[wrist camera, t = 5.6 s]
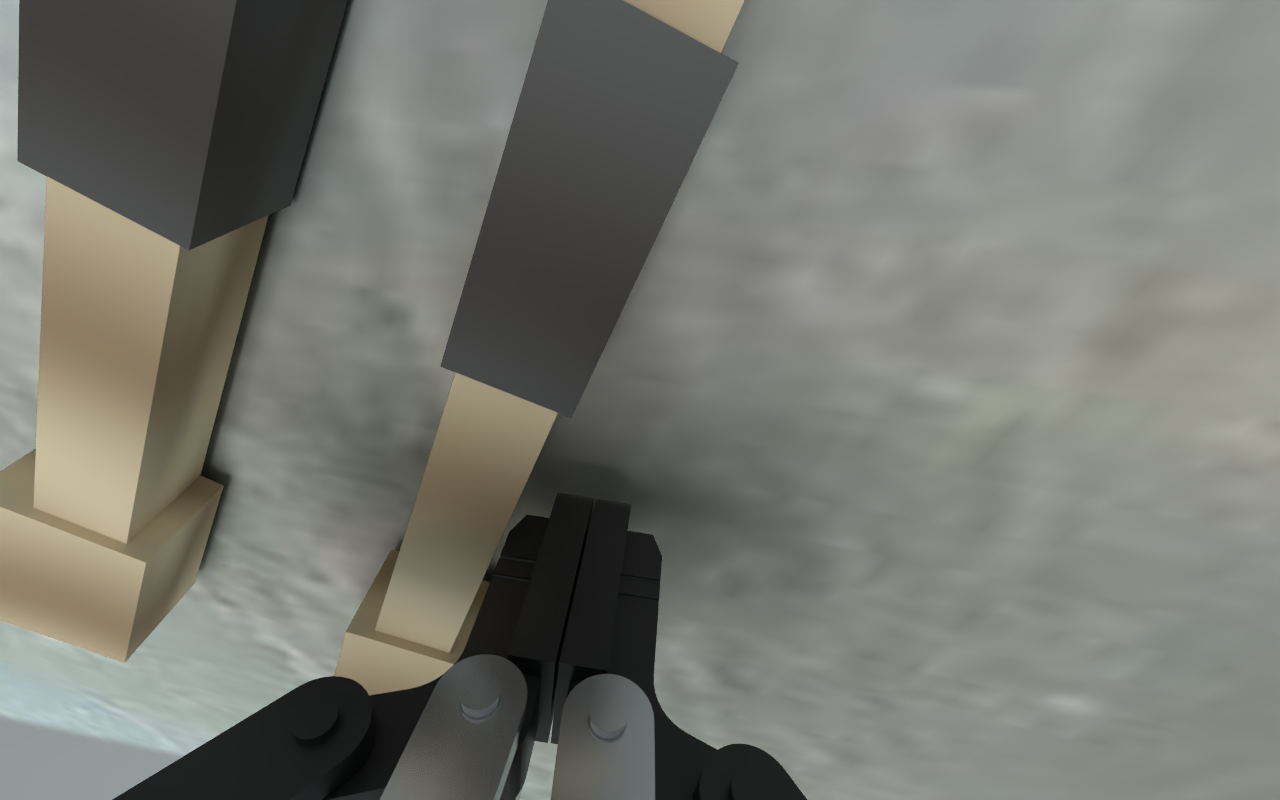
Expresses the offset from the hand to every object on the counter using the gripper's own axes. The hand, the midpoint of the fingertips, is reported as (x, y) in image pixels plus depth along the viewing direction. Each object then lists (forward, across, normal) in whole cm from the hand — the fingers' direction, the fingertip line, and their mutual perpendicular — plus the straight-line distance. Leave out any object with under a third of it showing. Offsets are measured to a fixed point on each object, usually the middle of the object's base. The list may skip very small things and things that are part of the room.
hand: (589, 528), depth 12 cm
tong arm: (+1, +2, -2) cm, 3 cm away
